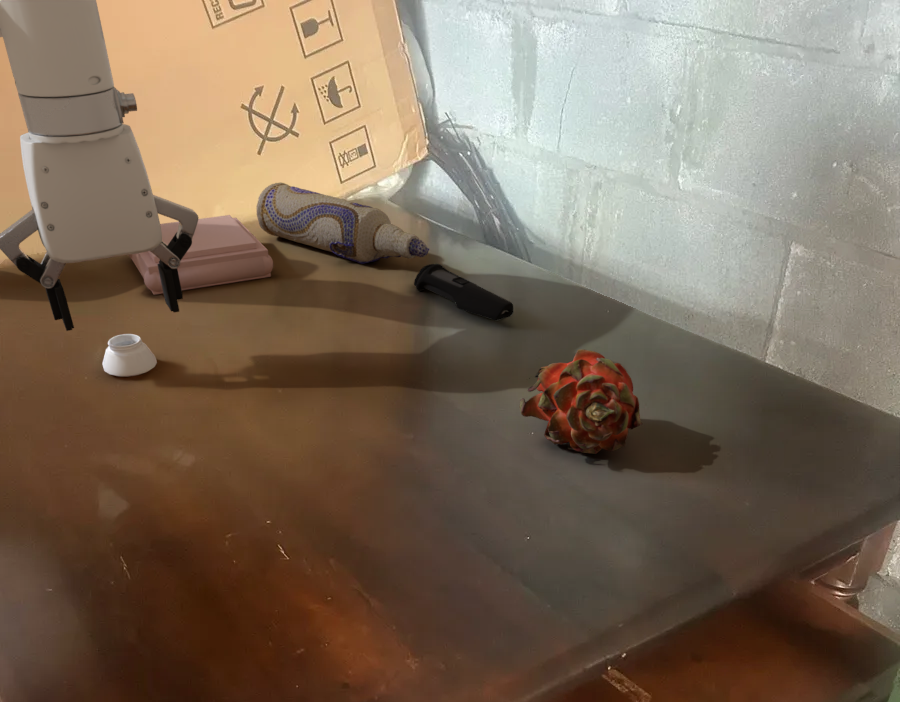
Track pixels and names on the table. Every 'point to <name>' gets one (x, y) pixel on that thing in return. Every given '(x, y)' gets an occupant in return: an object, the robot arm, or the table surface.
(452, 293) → the electric trimmer
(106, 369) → the white jar
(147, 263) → the decorative box
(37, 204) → the robot arm
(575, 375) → the dragon fruit
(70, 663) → the table surface
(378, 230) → the decorative bottle
